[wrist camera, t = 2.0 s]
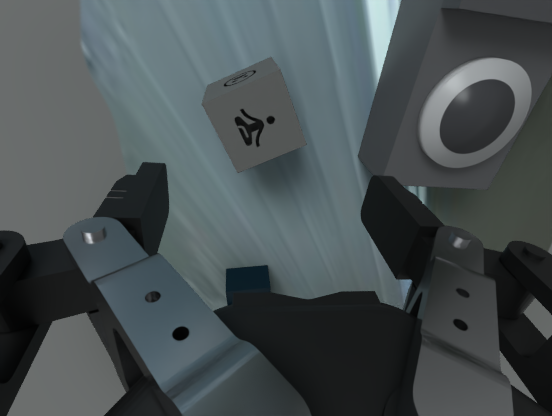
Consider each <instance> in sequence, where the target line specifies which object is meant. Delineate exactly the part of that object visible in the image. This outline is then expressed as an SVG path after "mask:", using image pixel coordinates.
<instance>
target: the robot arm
mask: <svg viewBox="0 0 552 416" xmlns="http://www.w3.org/2000/svg"><path fill="white" fill-rule="evenodd" d="M168 213H169V194H168V181H167V169H166V165H165V163H150V162H143V163H142V165H141V166H140V168H139V170H138V172H137V173H136V175H126V176H124V177H123V178H121V179H119V180H118V181H116V183H115V184H114V186H113V187H112V189H111V191H110V192H109V193H108V195H107V198H105V199H104V201H103V202H102V204H101V206H100V207H99V209H98V210H97V212H96V213H95V215H94V216H93V218H89V219H84V220H82V221H79V222H77V223H75V224H73V225H71V226H70V227H69V228H68V229H67V230H66V231H65V232H64V235H63V239H59V240H55V241H49V242H43V243H37V244H31V245H26V243H25V240H24V237H23V236H22V235H21V234H19V233H17V232H14V231H0V416H7V414H8V412H9V409H10V407H11V405H12V403H13V401H14V399H15V397H16V395H17V393H18V391H19V389H20V387H21V385H22V383H23V381H24V379H25V377H26V375H27V373H28V371H29V369H30V367H31V364H32V362H33V360H34V358H35V356H36V354H37V352H38V350H39V348H40V346H41V344H42V342H43V340H44V338H45V336H46V334H47V332H48V330H49V327H50V325H51V323H52V321H55V320H58V319H62V318H66V317H70V316H74V315H78V314H81V313H85V312H86V313H87V315H88V317H89V319H90V321H91V323H92V324H93V326H94V328H95V330H96V332H97V334H98V335H99V337H100V339H101V341H102V343H103V345H104V346H105V348H106V350H107V352H108V354H109V356H110V358H111V360H112V362H113V364H114V367H115V369H116V372H117V374H118V377H119V379H120V381H121V383H122V385H123V387H124V389H125V391H126V394H125V395H124V396H123V397H122V398H121V399H120V400H119V401H118V402H117V403H116V404H115V405H114V406H113V407H112V408H111V409H110V410H109V411H108V412H107V413H106V414H105V415H104V416H552V336H551V337H550V338H549V339H548V340H547V339H546V338H545V337H544V336H543V335H542V334H541V332H540V331H539V330H538V329H537V328H536V327H535V326H534V325H533V323H532V322H531V321H530V320H529V319H528V318H527V317H526V316H525V314H524V313H523V312H524V311H525V310H526V308H527V307H528V306H529V305H530V304H531V302H532V301H533V299H535V298H536V299H537V300H538V301H539V302H540V303H541V304H542V305H543V306H544V307H545V308H546V309H547V310H548V311H549V312H550V313H551V315H552V255H551V254H550V253H548V252H547V251H545V250H543V249H541V248H539V247H537V246H535V245H532V244H530V243H526V242H522V241H512V242H510V243H509V244H508V245H507V247H506V248H505V250H504V251H503V252H498V251H494V250H489V249H485V248H484V247H483V244H482V242H481V241H480V240H479V239H478V238H477V237H476V236H474V235H473V234H471V233H469V232H467V231H465V230H463V229H460V228H457V227H452V226H445V225H444V224H443V223H442V222H441V221H440V220H439V219H438V218H437V217H436V216H435V215H434V214H433V213H432V212H431V211H430V210H428V208H427V207H426V206H425V205H424V204H422V202H421V201H420V200H419V199H418V197H417V196H416V195H414V194H413V193H411V192H409V191H408V190H406V189H405V188H404V187H403V186H402V185H401V184H400V183H399V182H398V181H397V179H396V178H395V177H393V176H382V175H374V176H373V177H372V178H371V180H370V182H369V185H368V189H367V192H366V195H365V198H364V201H363V205H362V208H361V220H362V223H363V225H364V226H365V228H366V230H367V231H368V233H369V235H370V236H371V238H372V240H373V241H374V243H375V245H376V246H377V248H378V250H379V251H380V253H381V255H382V256H383V258H384V260H385V261H386V263H387V264H388V266H389V268H390V269H391V271H392V273H393V274H394V276H395V278H396V279H411V280H412V283H411V285H410V287H409V289H408V293H407V296H406V300H405V303H404V307H403V310H401V309H399V308H396V307H394V306H391V305H388V304H384V303H380V301H379V299H378V297H377V295H376V293H375V291H353V292H338V293H334V294H330V295H326V296H322V297H318V298H314V299H302V298H296V297H291V296H286V295H281V294H276V293H270V292H264V293H233V304H232V305H228V306H225V307H222V308H219V309H217V310H214V311H212V310H211V309H210V308H209V306H208V305H207V304H206V303H205V302H204V301H203V300H202V299H201V298H200V297H199V295H198V294H197V293H196V292H195V291H194V290H193V289H192V288H191V287H190V285H189V284H188V283H187V282H186V281H185V280H184V279H183V278H182V277H181V275H180V274H179V273H178V272H177V271H176V270H175V269H174V268H173V267H172V265H171V264H170V263H169V262H168V261H167V260H166V259H165V258H164V257H163V256H162V255H161V254H159V253H157V251H158V248H159V245H160V241H161V238H162V235H163V231H164V228H165V225H166V221H167V218H168ZM499 350H500V351H501V353H502V354H503V355H504V357H505V358H506V360H507V361H508V362H509V364H510V365H511V366H512V368H513V369H514V371H515V372H516V373H517V375H518V376H519V378H520V379H521V380H522V382H523V383H524V384H525V386H526V387H527V389H528V390H529V392H530V393H531V394H532V396H533V397H534V399H535V400H536V401H537V403H536V402H535V401H533V400H532V399H531V398H529V397H528V396H526V395H525V394H523V393H522V392H520V391H519V390H518V389H516V388H515V387H514V386H512V385H511V384H510V381H509V379H508V378H507V376H505V375H503V373H502V372H501V367H500V353H499Z"/></svg>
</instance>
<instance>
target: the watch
mask: <svg viewBox="0 0 552 416" xmlns="http://www.w3.org/2000/svg"><path fill="white" fill-rule="evenodd" d="M264 292H270V281H269V274H268V267H267V265H265V266H254V267H242V268H231V269H226V297H227V304H228V305H232V304H233V293H264Z"/></svg>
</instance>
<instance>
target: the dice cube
mask: <svg viewBox="0 0 552 416" xmlns="http://www.w3.org/2000/svg"><path fill="white" fill-rule="evenodd" d="M202 106H203V107H204V109H205V111H206V113H207V115H208V117H209V119H210V121H211V123H212V125H213V127H214V128H215V130H216V132H217V134H218V136H219V138H220V140H221V142H222V144H223V146H224V148H225V149H226V151H227V153H228V155H229V157H230V159H231V161H232V163H233V165H234V167H235V169H236V170H237V172H238V173H239V172H242V171H244V170H247V169H249V168H251V167H254V166H256V165H259V164H261V163H264V162H266V161H268V160H271V159H273V158H276V157H278V156H281V155H283V154H286V153H288V152H290V151H293V150H295V149H298V148H300V147H303V146H305V145H307V144H306V141H305V138H304V136H303V133H302V130H301V127H300V124H299V121H298V119H297V116H296V113H295V110H294V107H293V104H292V102H291V99H290V96H289V93H288V90H287V87H286V85H285V82H284V79H283V76H282V73H281V70H280V68H279V67H278V66H277V64H276V63H275V61H274V60H273V59H272V57H270V58H267V59H265V60H263V61H261V62H259V63H256V64H254V65H252V66H250V67H247V68H245V69H243V70H241V71H239V72H236V73H234V74H232V75H230V76H227V77H225V78H223V79H221V80H218V81H216V82H214V83H212V84H210V85H207V88H206V92H205V95H204V98H203V102H202Z"/></svg>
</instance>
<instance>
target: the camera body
mask: <svg viewBox="0 0 552 416" xmlns="http://www.w3.org/2000/svg"><path fill="white" fill-rule="evenodd" d="M551 75H552V0H402V1H401V4H400V8H399V11H398V15H397V19H396V22H395V26H394V29H393V33H392V36H391V40H390V44H389V47H388V51H387V54H386V58H385V61H384V65H383V68H382V72H381V76H380V79H379V83H378V86H377V90H376V93H375V97H374V101H373V104H372V108H371V111H370V115H369V118H368V122H367V126H366V129H365V133H364V136H363V140H362V143H361V147H360V151H359V154H358V157H359V158H360V160H361V161H362V162H363V163H364V164H365V166H366V167H367V168H368V169H369V171H370V172H371V173H372V174H373V175H382V176H393V177H395V178H396V179H397V181H398V182H399V183H400V184H401V185H405V186H425V187H445V188H465V189H485V190H488V188H489V186H490V185H491V183H492V181H493V179H494V177H495V176H496V174H497V172H498V170H499V168H500V167H501V165H502V163H503V161H504V159H505V158H506V156H507V154H508V152H509V150H510V149H511V147H512V145H513V143H514V141H515V140H516V138H517V136H518V134H519V133H520V131H521V129H522V127H523V125H524V124H525V122H526V120H527V118H528V116H529V115H530V113H531V111H532V109H533V107H534V106H535V104H536V102H537V100H538V98H539V97H540V95H541V93H542V91H543V89H544V88H545V86H546V84H547V82H548V81H549V79H550V77H551Z"/></svg>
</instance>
